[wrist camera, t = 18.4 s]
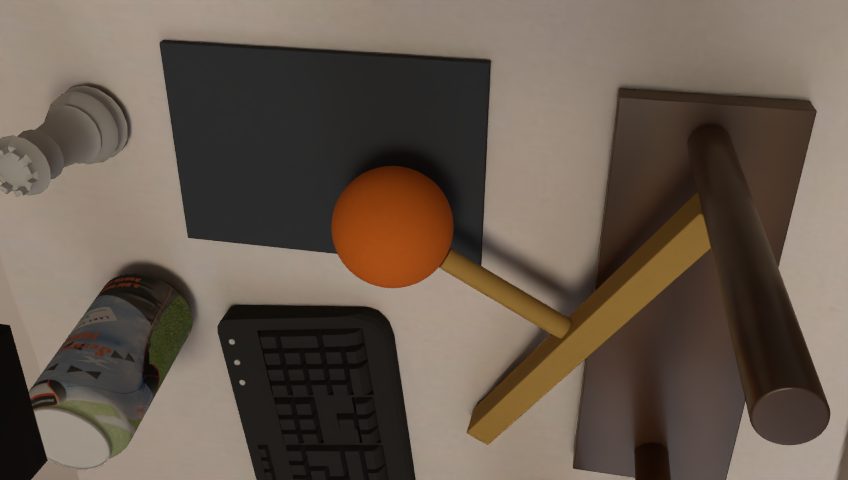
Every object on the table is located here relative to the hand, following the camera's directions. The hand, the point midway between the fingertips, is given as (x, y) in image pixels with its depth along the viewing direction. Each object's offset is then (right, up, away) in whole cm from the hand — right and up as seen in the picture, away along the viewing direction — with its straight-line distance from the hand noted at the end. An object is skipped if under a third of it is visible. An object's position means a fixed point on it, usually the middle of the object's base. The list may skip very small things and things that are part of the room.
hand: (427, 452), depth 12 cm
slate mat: (-6, +8, +34) cm, 35 cm away
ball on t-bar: (-4, +5, +30) cm, 31 cm away
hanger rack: (+14, 0, +34) cm, 36 cm away
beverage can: (-17, -1, +42) cm, 45 cm away
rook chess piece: (-19, +10, +36) cm, 42 cm away
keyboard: (-6, -14, +46) cm, 48 cm away
